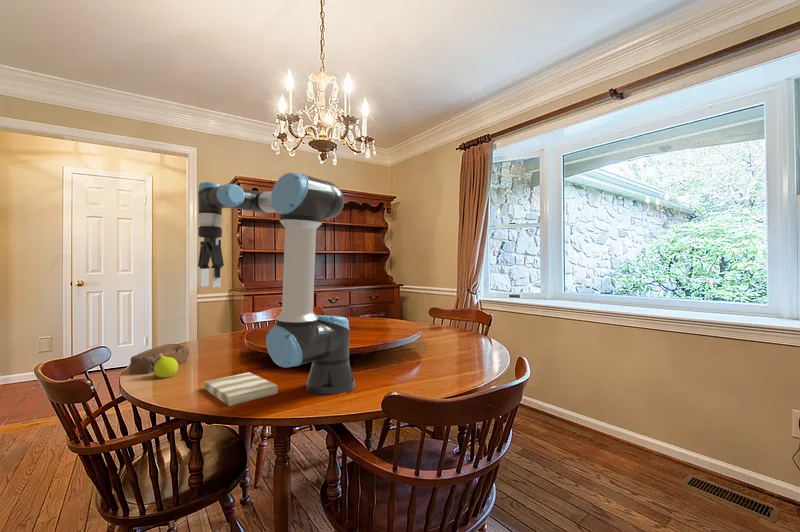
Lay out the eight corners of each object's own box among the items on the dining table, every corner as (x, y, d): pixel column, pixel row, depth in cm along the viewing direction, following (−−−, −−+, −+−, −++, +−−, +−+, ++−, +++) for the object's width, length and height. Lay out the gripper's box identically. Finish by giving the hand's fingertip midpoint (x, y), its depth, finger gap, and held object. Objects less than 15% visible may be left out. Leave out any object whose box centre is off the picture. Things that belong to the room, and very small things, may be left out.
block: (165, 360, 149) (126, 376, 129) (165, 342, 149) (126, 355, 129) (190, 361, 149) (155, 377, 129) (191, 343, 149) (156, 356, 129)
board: (277, 393, 110) (277, 385, 110) (229, 406, 100) (229, 396, 100) (249, 379, 124) (249, 372, 124) (204, 389, 114) (204, 381, 114)
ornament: (149, 381, 123) (149, 351, 123) (161, 375, 130) (161, 347, 130) (171, 380, 123) (171, 351, 123) (182, 374, 130) (182, 346, 130)
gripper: (233, 224, 126) (234, 287, 126) (210, 229, 143) (210, 285, 143) (210, 222, 121) (210, 288, 120) (188, 228, 138) (188, 286, 137)
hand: (210, 286), depth 132 cm, fingers open, 12 cm apart
